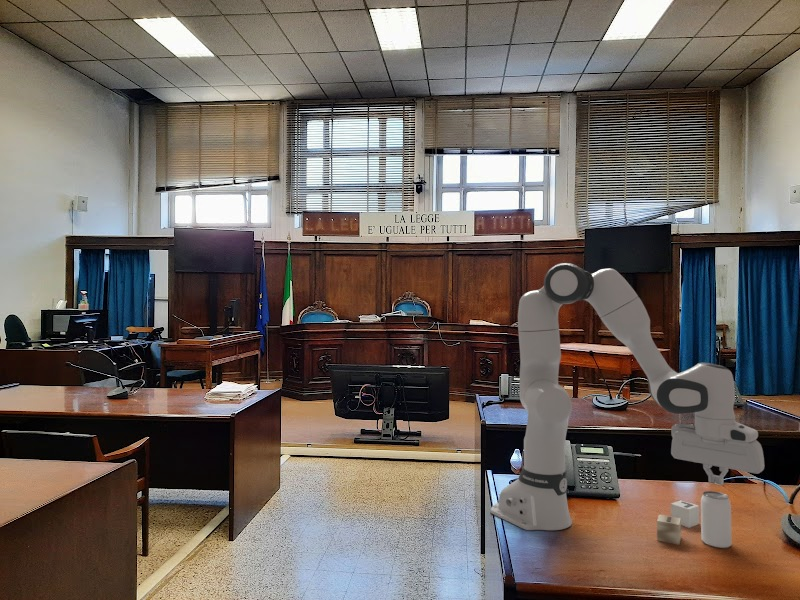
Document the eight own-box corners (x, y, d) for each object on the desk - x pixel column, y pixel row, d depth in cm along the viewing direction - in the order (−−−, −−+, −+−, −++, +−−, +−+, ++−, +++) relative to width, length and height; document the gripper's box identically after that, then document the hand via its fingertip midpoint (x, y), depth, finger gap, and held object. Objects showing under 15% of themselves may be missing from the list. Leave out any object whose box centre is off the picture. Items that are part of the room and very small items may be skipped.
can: (735, 550, 129) (735, 500, 129) (706, 547, 130) (706, 498, 130) (725, 538, 135) (724, 491, 135) (697, 536, 136) (697, 489, 137)
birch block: (657, 540, 134) (656, 520, 134) (659, 533, 138) (659, 513, 139) (679, 545, 132) (679, 524, 132) (681, 537, 136) (680, 517, 136)
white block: (671, 521, 146) (670, 503, 146) (681, 518, 149) (680, 499, 149) (689, 528, 142) (688, 508, 142) (699, 524, 144) (698, 505, 145)
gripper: (666, 423, 138) (667, 476, 138) (758, 436, 124) (759, 496, 123) (675, 420, 143) (676, 471, 142) (765, 432, 128) (766, 490, 128)
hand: (715, 483), depth 133 cm, fingers closed
